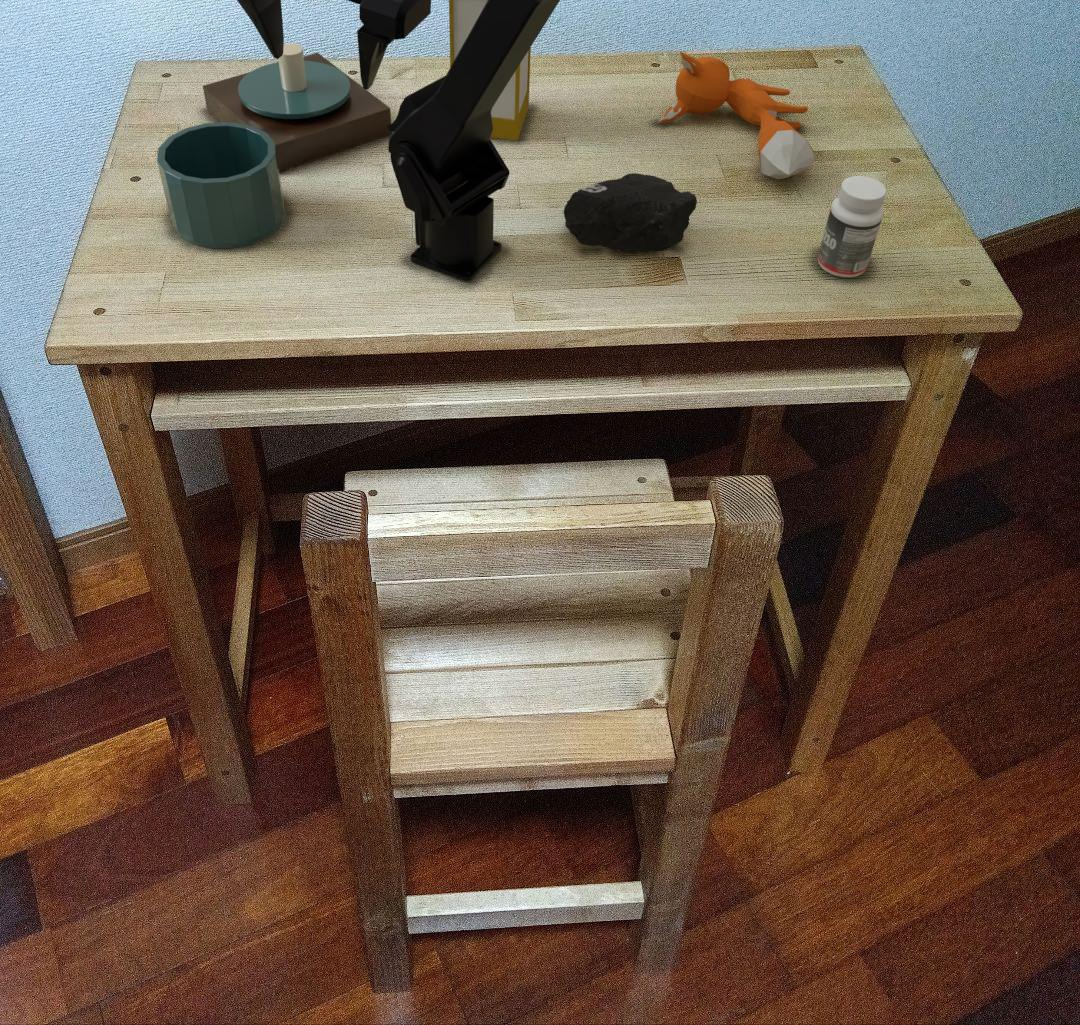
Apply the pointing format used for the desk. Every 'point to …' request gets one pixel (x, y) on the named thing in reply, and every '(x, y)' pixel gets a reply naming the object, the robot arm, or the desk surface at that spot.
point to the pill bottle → (852, 227)
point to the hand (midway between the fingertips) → (322, 71)
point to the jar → (222, 184)
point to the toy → (744, 112)
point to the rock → (630, 214)
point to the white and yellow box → (515, 96)
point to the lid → (294, 87)
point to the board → (305, 121)
